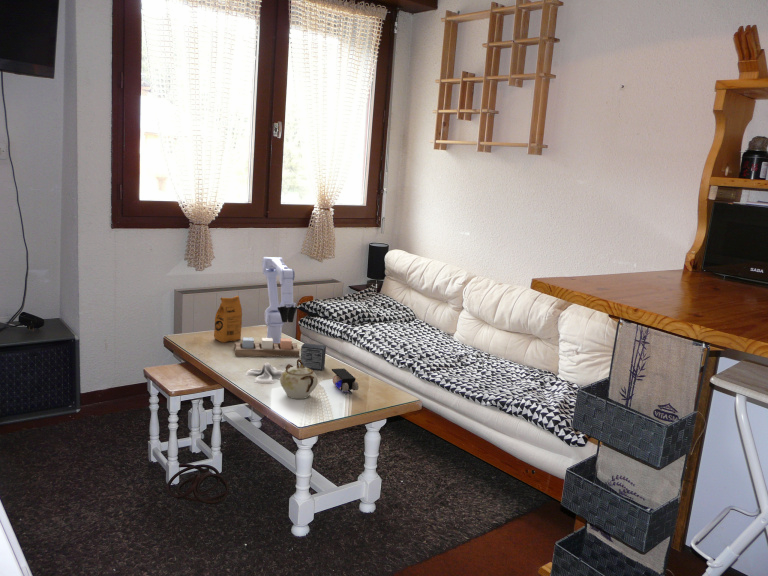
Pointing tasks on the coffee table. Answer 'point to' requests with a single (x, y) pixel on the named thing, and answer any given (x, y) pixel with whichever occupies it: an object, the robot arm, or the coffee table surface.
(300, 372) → the sugar bowl
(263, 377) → the cloth
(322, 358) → the small box
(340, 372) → the figurine character
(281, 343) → the terracotta block
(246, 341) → the slate block
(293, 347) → the block rack
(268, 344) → the cream block
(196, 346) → the coffee table surface
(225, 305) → the coffee package
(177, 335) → the coffee table surface
